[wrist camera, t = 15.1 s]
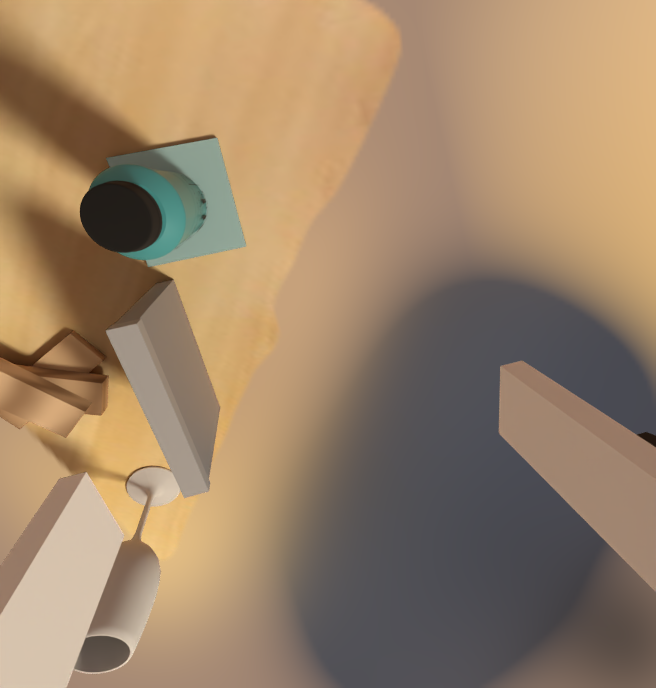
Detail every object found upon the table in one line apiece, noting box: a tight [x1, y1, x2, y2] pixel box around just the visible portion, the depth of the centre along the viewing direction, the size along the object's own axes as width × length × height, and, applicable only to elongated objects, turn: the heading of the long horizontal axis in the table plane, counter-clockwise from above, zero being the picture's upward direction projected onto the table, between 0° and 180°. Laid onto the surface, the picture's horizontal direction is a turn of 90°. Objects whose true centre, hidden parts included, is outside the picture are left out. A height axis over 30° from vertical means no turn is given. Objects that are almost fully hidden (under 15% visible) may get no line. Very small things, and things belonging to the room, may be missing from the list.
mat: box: [106, 138, 246, 267], centre depth 39 cm, size 11×11×1 cm
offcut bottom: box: [0, 331, 106, 429], centre depth 44 cm, size 14×4×2 cm, turn 126°
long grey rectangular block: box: [106, 280, 220, 498], centre depth 39 cm, size 18×2×15 cm, turn 10°
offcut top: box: [0, 357, 92, 438], centre depth 40 cm, size 11×4×2 cm, turn 49°
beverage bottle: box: [80, 164, 207, 260], centre depth 30 cm, size 6×7×20 cm
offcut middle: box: [17, 365, 109, 415], centre depth 42 cm, size 13×4×2 cm, turn 76°
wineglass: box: [73, 466, 180, 674], centre depth 43 cm, size 8×8×21 cm
